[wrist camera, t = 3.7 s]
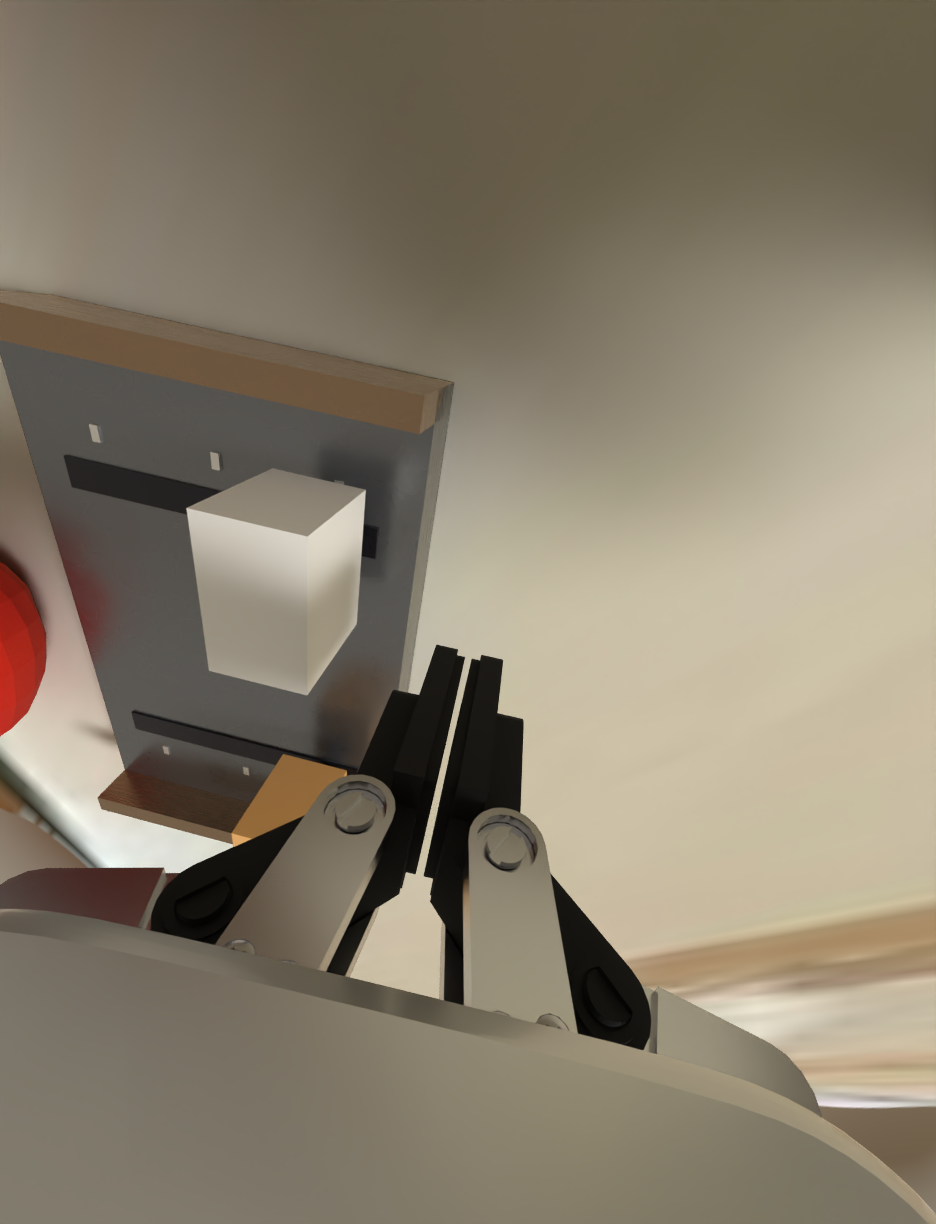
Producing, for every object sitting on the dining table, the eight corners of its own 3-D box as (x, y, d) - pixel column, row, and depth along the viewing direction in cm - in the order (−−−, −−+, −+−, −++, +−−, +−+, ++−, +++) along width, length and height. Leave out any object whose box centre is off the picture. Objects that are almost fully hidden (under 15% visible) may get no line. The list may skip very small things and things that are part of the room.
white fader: (380, 478, 16) (307, 536, 11) (369, 605, 18) (307, 695, 14) (294, 458, 16) (186, 507, 11) (295, 587, 18) (209, 670, 14)
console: (453, 382, 16) (424, 395, 13) (390, 809, 29) (365, 879, 25) (52, 294, 17) (-90, 282, 13) (159, 749, 30) (101, 809, 26)
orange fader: (357, 747, 22) (306, 853, 18) (352, 812, 25) (307, 919, 20) (297, 731, 23) (231, 833, 18) (298, 798, 25) (240, 901, 21)
